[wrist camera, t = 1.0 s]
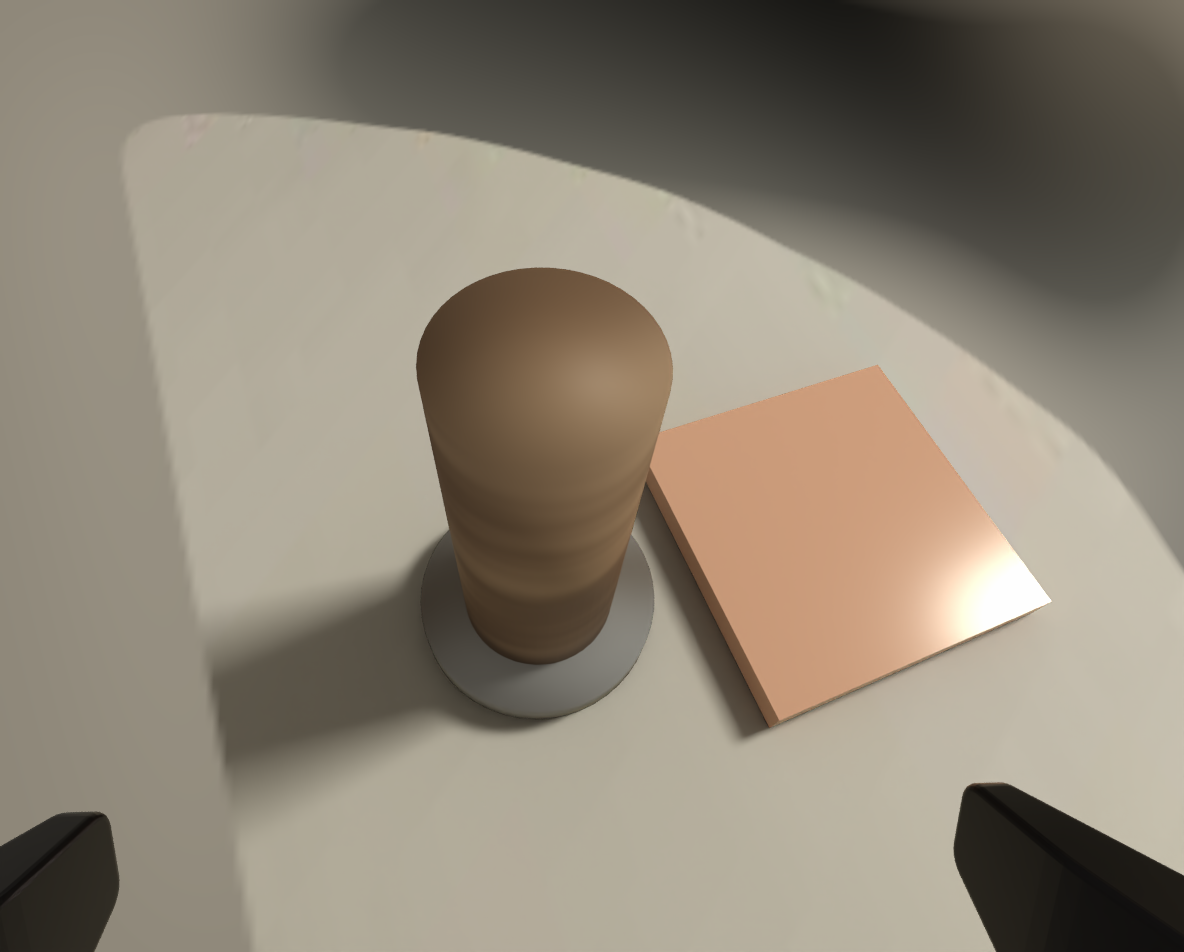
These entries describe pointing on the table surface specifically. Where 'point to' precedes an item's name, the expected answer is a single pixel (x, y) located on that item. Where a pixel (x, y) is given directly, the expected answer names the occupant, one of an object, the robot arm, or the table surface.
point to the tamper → (540, 486)
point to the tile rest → (833, 540)
